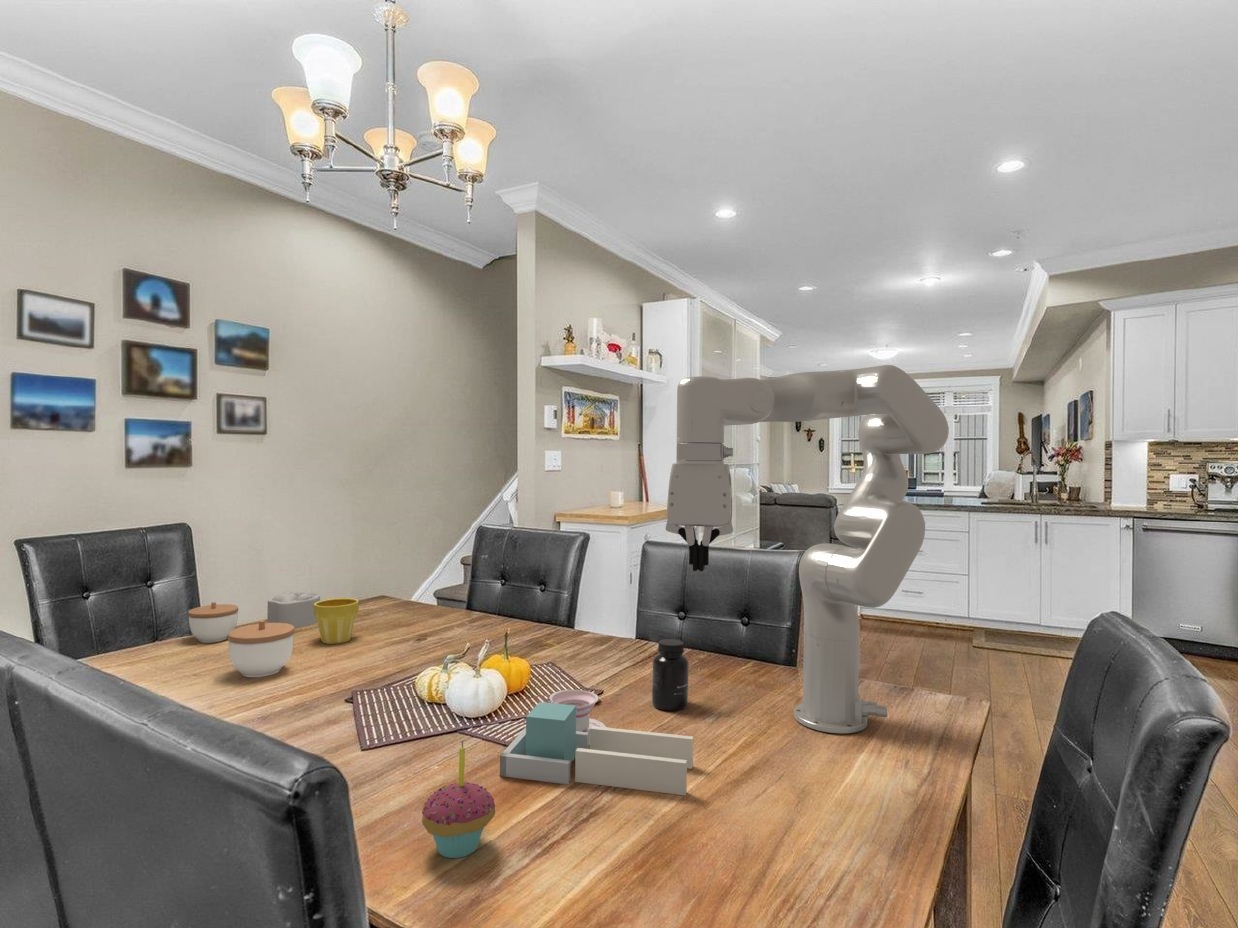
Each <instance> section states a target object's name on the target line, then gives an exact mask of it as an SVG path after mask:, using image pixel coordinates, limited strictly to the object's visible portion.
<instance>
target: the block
mask: <svg viewBox="0 0 1238 928" xmlns="http://www.w3.org/2000/svg"><path fill="white" fill-rule="evenodd" d="M525 719H526V720H525V727H526V753H525V755H527V756H536V757H544V758H553V759H561V760H570V766H571V765H572V763H573V761H574V760H575V752H576V705H566V704H555V703H548V702H544V701H539V702H538V703H537V704H536V705H535V706H534V707H533V708H532V710H531V711H530V712H529V713H528V714H527V715H526V716H525Z"/></svg>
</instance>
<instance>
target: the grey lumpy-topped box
mask: <svg viewBox="0 0 1238 928" xmlns="http://www.w3.org/2000/svg"><path fill="white" fill-rule="evenodd" d="M318 601H321V595H320V594H319V593H315V592H314V591H311V590H310V591H308V590H305V589H302V590H299V591H296V592H295V593H294V592H293V591H291V590H286V591H283V593H280V594H277V595H275V596H274V597H271V598H269V599H268V600H267V609H266V610H267V614H266V617H267V619H266V620H267V622H266V623H287V624H291V625H293V626H294V628H295V630H296V629H301V628H304V627H305V628H306V627H310V626H313V625H316V624H318V622H317V619H316V618H315V617H314V603H316V602H318Z"/></svg>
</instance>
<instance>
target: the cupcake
mask: <svg viewBox="0 0 1238 928" xmlns="http://www.w3.org/2000/svg"><path fill="white" fill-rule="evenodd" d="M458 754H459V756H458V757H459V759H458V762H459V763H458V782H453V783H451V784H449V785H444V786H442V787H440V788H439V789H437V790H436V791H434V792H433V794H431V796H429V797H428V798H427V800H426V801H425V802H424V806H423V808H422V812H421V813H422V816H421V817H422V818H421V823H422V825H423V827H424V828H425V830H426V831H427V833H428V834H430V835H431V836H432V837H433V840H434V841H435V845H436V849H437V852H438V854H440V855H441V856H443V857H445V858H447V859H458V858H463V857H466V856H469V855H471V854H473V852H475V851H476V850H477V848H478V846H479V844H480V840H481V837H482V834H483V831H484V828H485V827H487V825H488V824H489V823H490V822H491V821H492V819H493V818H494V817H495V815H496V804H495V799H494V798H493V795H492V794H491V792H490V791H488V790H487V788H484V786H482V785H480V784H478V783H474V782H473V783H470V782H467V781H465V763H466V761H465V760H466V759H465V758H466V755H465V754H466V747H465V746H464V740H461V747H459V753H458Z"/></svg>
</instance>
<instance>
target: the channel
mask: <svg viewBox="0 0 1238 928" xmlns="http://www.w3.org/2000/svg"><path fill="white" fill-rule="evenodd" d="M606 727H607V726H606ZM606 727H596V726H592V727H591V728H590V746H589V749H583V748H577V749H576V752H575V758H574V760H575V761H574V762H575V765H574V766H575V768H574V770H575V773H574V774H575V775H574V777H575V778H574V779H575V780H574V781H575V783H582V784H583V783H584V784H589V785H599V786H606V787H615V788H621V789H631V790H638V791H645V792H646V791H647V792H656V793H664V794H670V795H671V794H672V795H679V796H687V788H688V787H687V786H688V785H687V783H688V782H687V779H688V777H687V776H688V775H687V773H688V772H687V771H688V769H690V770H693V766H694V736H690V735H682V734H681V735H680V734H672V733H664V732H662V733H660V732H653V731H643V730H636V729H635V730H634V729H633V730H631V729H625V728H624V729H623V728H615V727H607V728H606Z"/></svg>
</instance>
